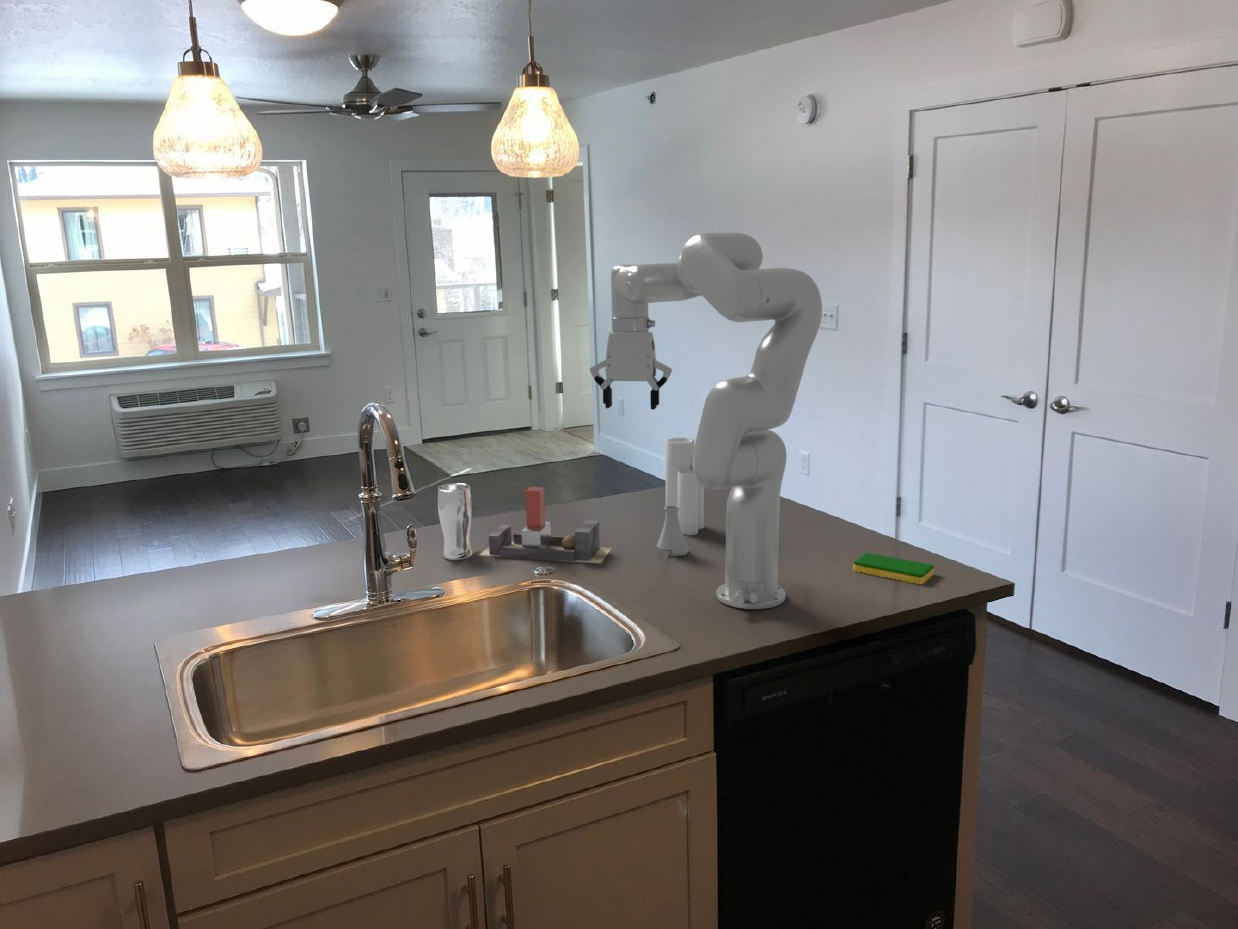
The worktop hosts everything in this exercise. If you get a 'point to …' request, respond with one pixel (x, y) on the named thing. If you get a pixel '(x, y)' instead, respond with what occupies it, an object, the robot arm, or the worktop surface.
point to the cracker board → (584, 546)
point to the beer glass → (455, 520)
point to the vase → (683, 484)
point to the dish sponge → (894, 568)
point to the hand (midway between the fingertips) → (631, 407)
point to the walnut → (569, 542)
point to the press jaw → (536, 520)
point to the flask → (672, 533)
